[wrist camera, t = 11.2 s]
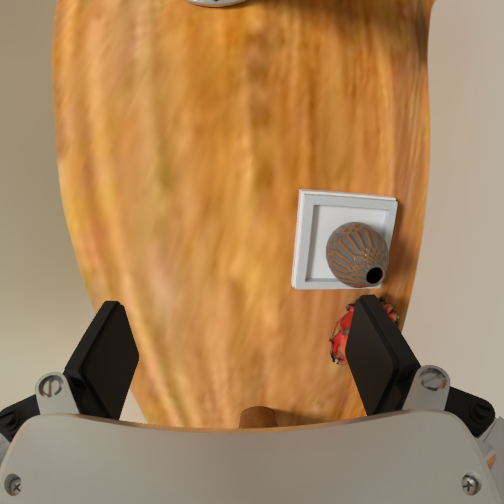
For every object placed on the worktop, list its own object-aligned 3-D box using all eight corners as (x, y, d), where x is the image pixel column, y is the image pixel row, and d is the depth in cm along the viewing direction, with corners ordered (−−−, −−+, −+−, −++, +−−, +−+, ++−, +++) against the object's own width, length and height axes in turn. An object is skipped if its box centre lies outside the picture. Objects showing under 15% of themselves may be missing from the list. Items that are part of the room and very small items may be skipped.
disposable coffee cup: (231, 427, 50) (230, 478, 39) (232, 400, 47) (231, 457, 36) (279, 428, 51) (284, 478, 40) (286, 400, 47) (294, 456, 36)
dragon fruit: (386, 283, 40) (328, 330, 45) (367, 278, 34) (300, 333, 39) (418, 329, 35) (354, 374, 40) (406, 334, 29) (330, 386, 34)
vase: (318, 270, 36) (338, 310, 27) (320, 215, 33) (344, 244, 25) (369, 266, 36) (398, 303, 28) (375, 214, 33) (410, 240, 25)
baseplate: (299, 188, 33) (303, 192, 31) (391, 196, 33) (399, 200, 31) (291, 282, 37) (293, 291, 35) (375, 281, 38) (381, 289, 36)
